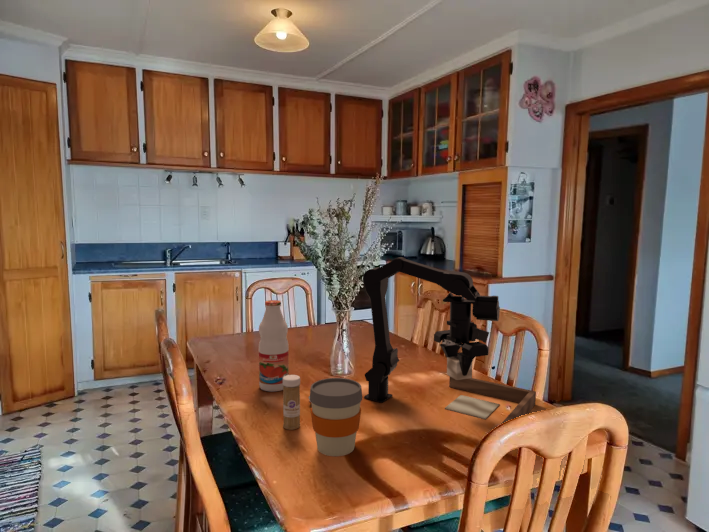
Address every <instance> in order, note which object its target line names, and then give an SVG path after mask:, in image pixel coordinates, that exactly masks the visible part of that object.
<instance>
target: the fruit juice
mask: <svg viewBox="0 0 709 532" xmlns="http://www.w3.org/2000/svg"><path fill="white" fill-rule="evenodd" d="M264 303H265V304H264V305H265V310H264V314H263V316H262V320H261V322H260V324H259V325H258V334H259V337H260V340H259V342H258V381H259V382H258V384H259V385H258V386H259V389H260V390H262V391H265V392H272V393H273V392H281V391H283V377H284V376H286V375H290V374H289V373H290V372H289V370H290V369H289V368H290V367H289V366H290V365H289V364H290V362H289V361H290V360H289V356H290V354H289V351H290V350H289V341H288V337H287V336H288V332H289V328H288V327H289V326H288V324H287V322H286V320H285V318H284V316H283V312H282V310H281V306H282V305H281V304H282V301H281V300H277V299H270V300H265V302H264Z"/></svg>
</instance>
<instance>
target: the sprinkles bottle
mask: <svg viewBox="0 0 709 532" xmlns="http://www.w3.org/2000/svg"><path fill="white" fill-rule="evenodd" d="M300 386H301V377H300V375H297V374H289V375H286V376H284V377H283V390H282V391H283V393H282V395H283V396H282V410H283V411H282V414H283V416H282V417H283V424H282V428H284V429H286V430H290V431H291V430H293V431H294V430H298V429H299V428H300V427H301V394H300V393H301V390H300Z"/></svg>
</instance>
